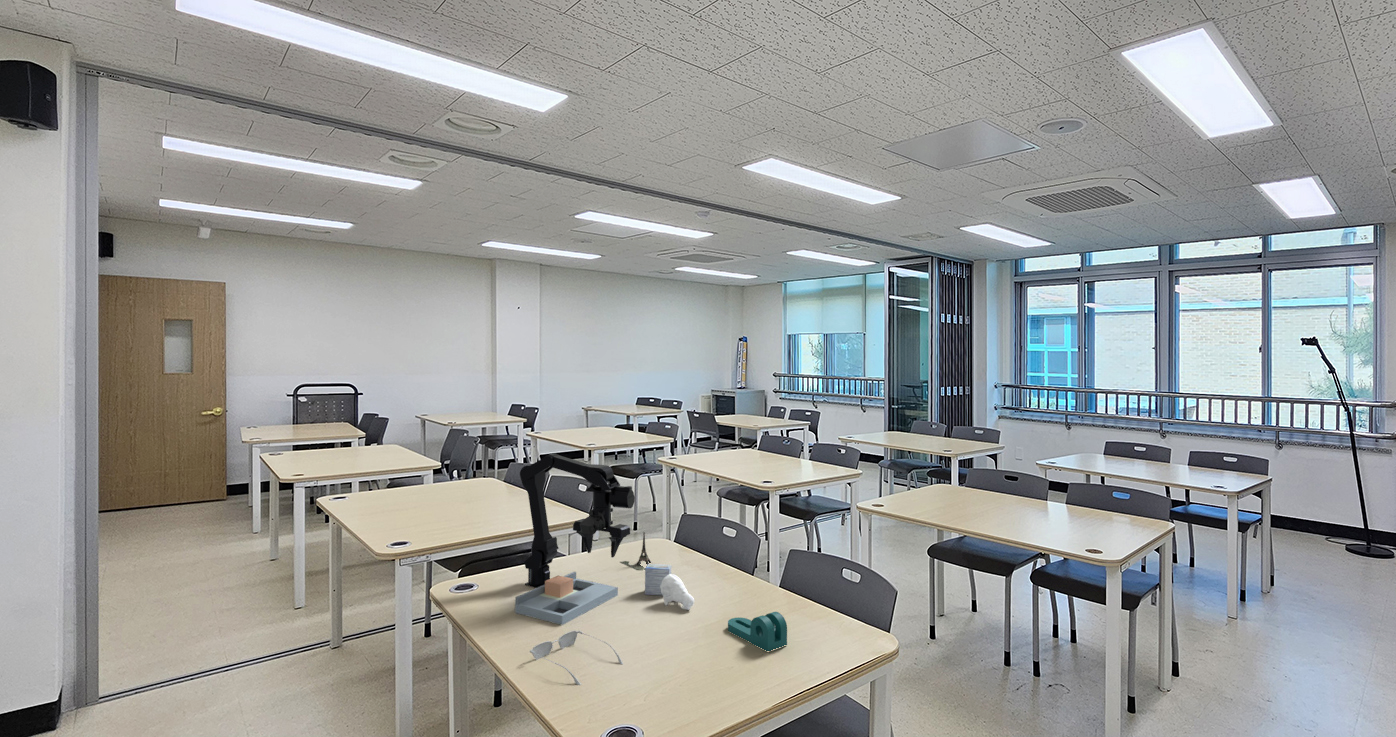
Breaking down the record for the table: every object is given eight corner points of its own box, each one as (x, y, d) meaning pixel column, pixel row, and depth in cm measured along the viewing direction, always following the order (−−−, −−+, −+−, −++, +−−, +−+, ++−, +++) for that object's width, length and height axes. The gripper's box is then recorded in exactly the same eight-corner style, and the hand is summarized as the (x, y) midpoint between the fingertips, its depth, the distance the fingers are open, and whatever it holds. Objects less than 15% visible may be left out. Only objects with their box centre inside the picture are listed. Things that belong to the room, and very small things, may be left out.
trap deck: (515, 612, 182) (515, 597, 182) (573, 585, 206) (573, 571, 206) (562, 624, 174) (562, 608, 174) (617, 595, 198) (617, 580, 198)
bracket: (786, 646, 163) (787, 616, 163) (768, 653, 159) (768, 622, 159) (741, 623, 177) (741, 595, 177) (722, 629, 173) (723, 600, 173)
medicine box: (671, 591, 202) (671, 564, 202) (669, 596, 197) (669, 568, 197) (647, 590, 203) (647, 563, 203) (644, 595, 198) (644, 567, 198)
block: (544, 594, 190) (544, 581, 190) (557, 588, 196) (558, 575, 196) (560, 597, 188) (560, 584, 188) (573, 591, 193) (573, 578, 193)
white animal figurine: (674, 570, 196) (701, 583, 187) (672, 596, 196) (699, 611, 188) (659, 574, 191) (685, 588, 183) (656, 601, 192) (683, 616, 183)
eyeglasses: (578, 643, 164) (578, 627, 164) (626, 664, 152) (626, 648, 152) (528, 664, 152) (528, 647, 152) (576, 689, 140) (577, 671, 140)
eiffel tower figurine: (619, 563, 231) (619, 527, 231) (641, 558, 238) (642, 523, 238) (642, 574, 220) (643, 536, 220) (665, 568, 226) (666, 531, 226)
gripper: (561, 507, 197) (561, 557, 197) (610, 514, 188) (610, 566, 188) (584, 500, 207) (583, 548, 207) (631, 507, 198) (630, 557, 198)
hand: (600, 555), depth 199 cm, fingers open, 9 cm apart
